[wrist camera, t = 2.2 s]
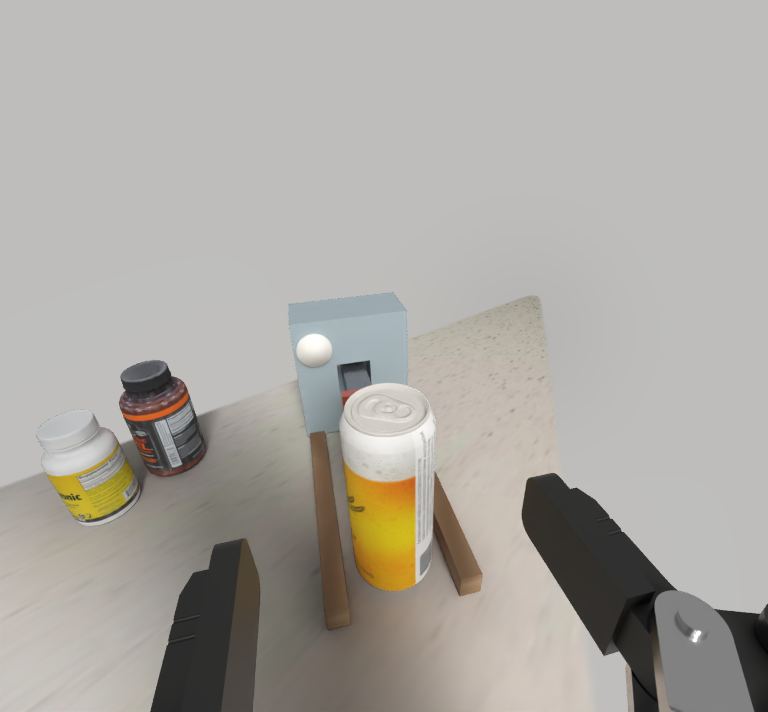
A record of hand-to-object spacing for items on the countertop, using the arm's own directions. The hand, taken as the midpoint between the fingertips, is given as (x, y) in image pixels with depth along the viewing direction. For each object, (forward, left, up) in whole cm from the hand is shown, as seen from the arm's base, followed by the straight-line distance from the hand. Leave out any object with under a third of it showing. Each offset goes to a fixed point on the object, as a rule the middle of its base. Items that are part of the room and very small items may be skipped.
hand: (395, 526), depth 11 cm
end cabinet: (+2, +32, -20) cm, 38 cm away
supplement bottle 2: (-18, +29, -20) cm, 39 cm away
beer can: (+2, +12, -20) cm, 23 cm away
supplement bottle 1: (-23, +24, -20) cm, 39 cm away
